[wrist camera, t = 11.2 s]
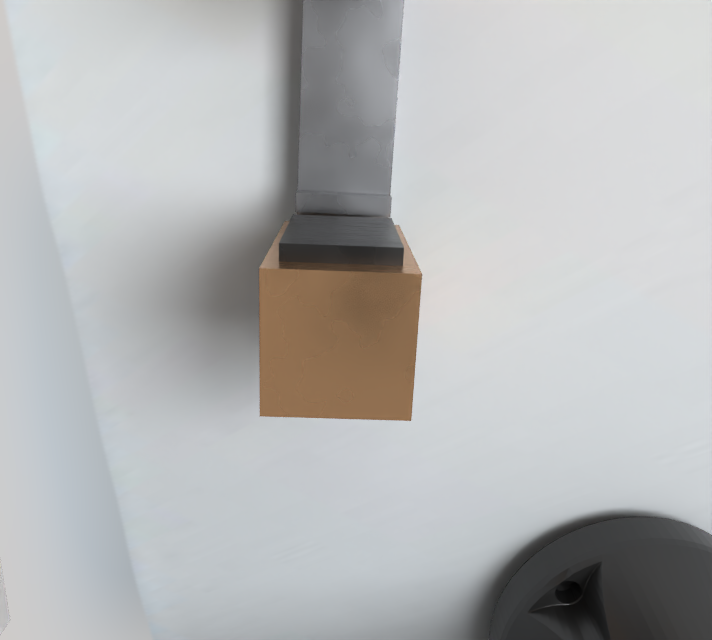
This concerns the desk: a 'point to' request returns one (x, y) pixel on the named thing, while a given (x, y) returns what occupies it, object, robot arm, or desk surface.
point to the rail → (348, 106)
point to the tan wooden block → (338, 320)
